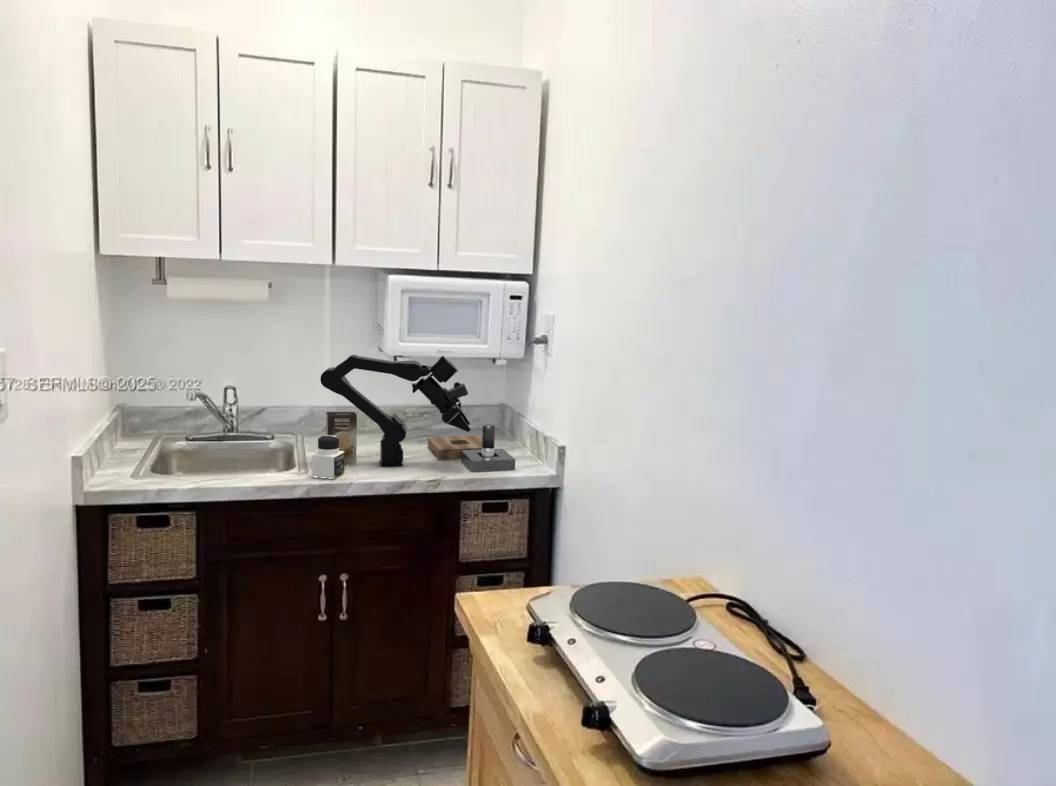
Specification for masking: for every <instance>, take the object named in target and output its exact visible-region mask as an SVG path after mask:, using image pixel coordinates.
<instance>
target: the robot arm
mask: <svg viewBox="0 0 1056 786" xmlns="http://www.w3.org/2000/svg"><path fill="white" fill-rule="evenodd" d="M354 369H355V370H363V371H369V372H374V373H375V372H376V373H383V374H389V375H392V376H396V377H398V378H400V379H403V380H405V381H409V382H412V383H411V387H412V391H411V392H412V393H413V394H414V393H416V392H417V391H418V390H419V392H420V393H422V395H424V397H426V399H427V400H428V401H430V404H431V405H432V406H435V408H436V409H437V410H438V411H439V413H440V414H441V421H442V422H443V423H444V424H446V425H448V426H449V425H450V426H452V427H455V428H457V429H460V430H463V431H465V432H468V433H469V432H471V428H470V426H469V425H471V423H470V421H469V420H468V418H467V416H466V415H465V414H464V411H463V410H462V402H461V399H460V398H462V397H466V396H467V395H469V391H468V389H467V387H466V384H465V383H460V382H459V381H456V382H454V383H453V387H451V389H447V388H446V387H443V386H441V385H440V384H439V383H445V384H446V383H447V382H448V381H449V380H450V379H451V378H452V377H453V376H454V375H456V373H458V372H459V369H458V368H457V367H456V366H455V364H454V363H453V362H452V361H450V360H448V359H447V358H446V357H445V355H441V356H440V357H439V358H438V360H437V361H436V362H435V363H434V364H433V365H432V366H431V365H425V364H421V362H419V361H417V360H399V361H398V360H397V361H392V360H386V359H379V358H372V357H369V356H367V357H366V356H362V355H361V356H359V355H357V354H350V355H349V356H348V357H347V359H345V360H343V361H342V362H340V363H339V364H338V365H336V366H335V367H334V366H333V367H328V368H326V369H325V370H324V371H323V372H322V373H321V375H320V384H321V385H322V386H323V388H325V389H327V390H329V391H330V392H332V393H335V394H337V395H340V396H341V397H344V399H346V400H347V401H348V402H350V404H352V405H353V406H355V407H356V408H357V409H358V410H359V411H360V412H362V413H364V415H366V416H367V417H368V418H369V419H371V421H373V422H374V423H375V424H377V426H378V427H379V428H380V430H381V431H382V433H383V434H382V437H381V439H380V444H379V447H380V448H379V450H380V451H379V453H380V454H379V461H378V462H379V464H380V466H381V467H400V466H401V467H402V466H403V462H404V450H403V448H402V445H401V442H403V441H404V440H405V439H406V437H407V432H408V427H407V425H406V423H405V420H404V419H401V418H400V417H399V416H398V415H397V414H396V413H393V415H390V414H387V413H386V412H384V411H383V410H382V409H381V408H379V406H377V405H376V404H375V403H374V402H373V401H371V400H370V399H368V398H367V397H366V396H365V395H364V394H362V392H360V391H359V390H357V389H356V388H355V387H354V386H353V385H352V384H351V383H350V381H349V380H348V378H347V377H346V376H347V375H348V374H349V373H351V372H352V371H353V370H354ZM424 377H426V378H424ZM416 381H417V382H416ZM413 382H414V383H413ZM415 382H416V383H415Z"/></svg>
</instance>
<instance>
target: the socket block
mask: <svg viewBox="0 0 1056 786" xmlns="http://www.w3.org/2000/svg"><path fill="white" fill-rule="evenodd" d="M460 461H461V462H462V463H463V464H464V465H465V466H466V467H467V468H468V470H469V469H470V470H469V471H470V472H471V473H481V472H482V473H483V472H500V471H501V470H504V471H515V470H516V459H515V458H514V456H512V455H511V454H510V453H508V452H507V451H506V450H505V449H504V448H494V457H482V449H481V450H461V459H460Z"/></svg>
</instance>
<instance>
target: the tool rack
mask: <svg viewBox="0 0 1056 786" xmlns="http://www.w3.org/2000/svg"><path fill="white" fill-rule="evenodd" d="M427 448H428V450H430V452H431V451H432V452H431V453H432V454H433V455H434V456H435V458H437V460H438V461H446V460H447V459H448V460H449V459H453V460H461V450H481V449H482V436H481V437H480V435H477V434H476V435H452V436H451V435H450V436H449V435H448V436H428V437H427Z"/></svg>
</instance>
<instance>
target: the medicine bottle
mask: <svg viewBox="0 0 1056 786" xmlns="http://www.w3.org/2000/svg"><path fill="white" fill-rule="evenodd" d="M338 450H339V438H338V437H336V436H332V435H327V436H326V435H322V436H320V437H318V439H317V452H315V453H312V456H311V457H312V462H311V463H312V465H311V467H312V469H311V470H312V473H311V474H312V475H311V477H312V476H317V477H325V478H332V479H335V478H336V479H338V478H339V477H338V476H340V475H341V476H343V475H344V474H345V472H346V471H345V466H346V465H344V451H338ZM342 474H343V475H342ZM341 476H340V477H341ZM337 477H338V478H337ZM336 479H335V480H336Z"/></svg>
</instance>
